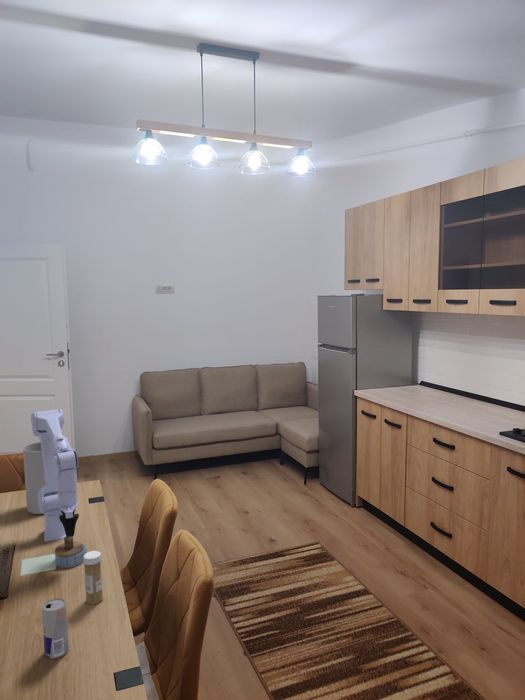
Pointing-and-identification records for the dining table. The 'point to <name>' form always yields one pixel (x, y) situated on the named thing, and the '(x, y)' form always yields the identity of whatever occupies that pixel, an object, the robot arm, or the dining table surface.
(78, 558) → the bowl
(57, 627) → the energy drink
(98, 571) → the sprinkles bottle
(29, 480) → the cylinder vase
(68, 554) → the lid
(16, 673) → the dining table surface
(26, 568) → the mat
